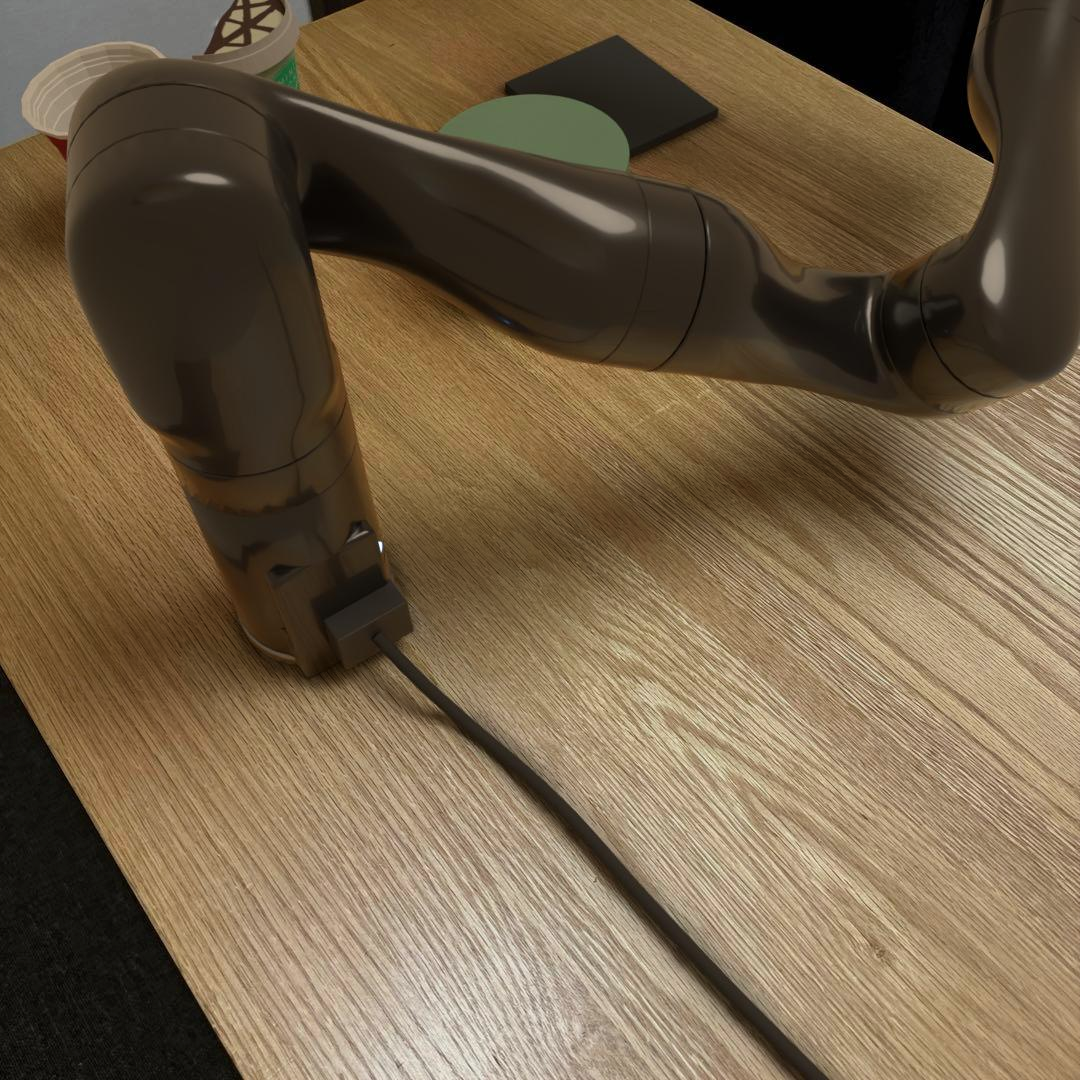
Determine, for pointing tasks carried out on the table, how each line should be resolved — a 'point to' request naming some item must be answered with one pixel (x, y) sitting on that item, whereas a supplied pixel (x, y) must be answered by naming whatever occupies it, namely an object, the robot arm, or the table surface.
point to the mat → (622, 91)
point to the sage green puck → (545, 129)
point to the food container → (257, 40)
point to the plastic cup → (74, 85)
